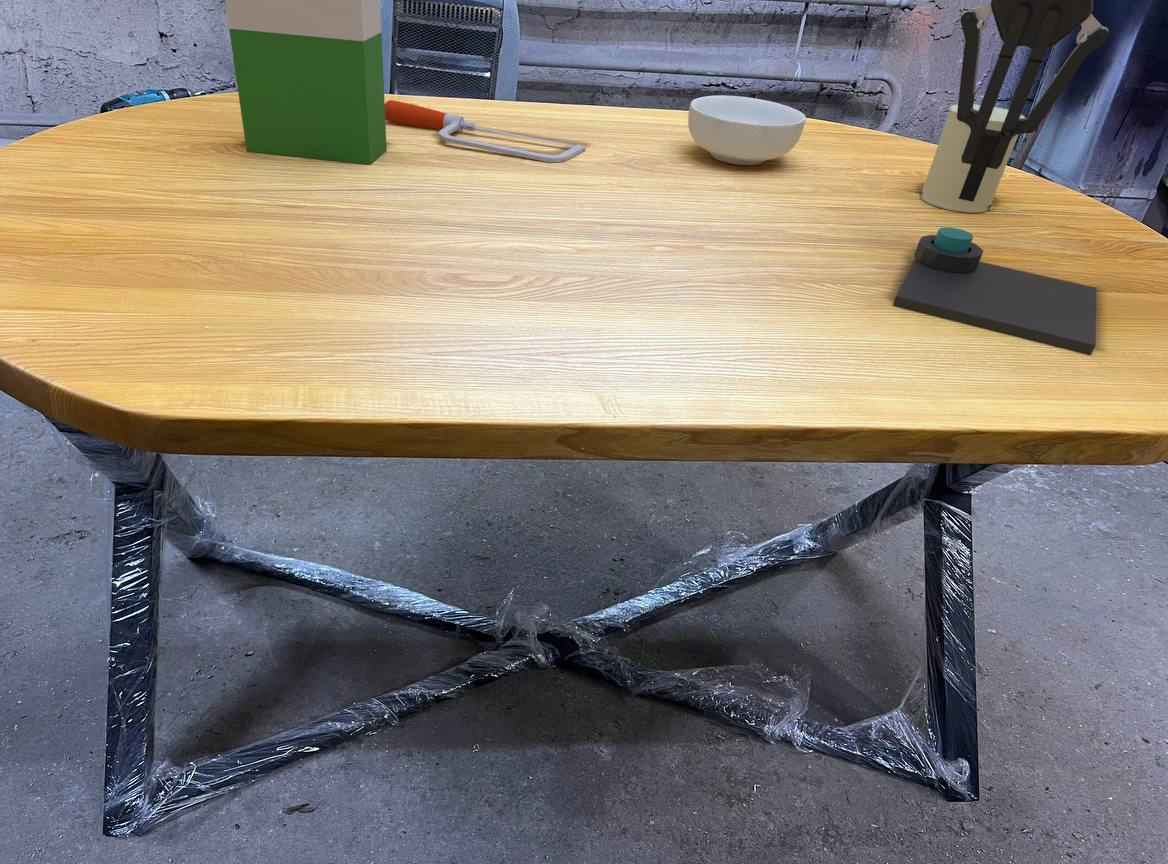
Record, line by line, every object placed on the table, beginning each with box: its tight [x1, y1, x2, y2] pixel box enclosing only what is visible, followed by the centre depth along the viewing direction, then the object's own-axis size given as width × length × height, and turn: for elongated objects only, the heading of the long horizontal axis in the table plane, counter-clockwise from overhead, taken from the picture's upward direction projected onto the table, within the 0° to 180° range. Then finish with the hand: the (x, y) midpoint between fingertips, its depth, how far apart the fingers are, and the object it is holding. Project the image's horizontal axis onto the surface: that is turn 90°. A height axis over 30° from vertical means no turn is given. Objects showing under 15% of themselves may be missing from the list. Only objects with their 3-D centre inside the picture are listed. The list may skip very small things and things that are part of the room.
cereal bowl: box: [687, 95, 807, 166], centre depth 122 cm, size 17×17×7 cm
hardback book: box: [224, 0, 388, 166], centre depth 108 cm, size 18×7×24 cm, turn 81°
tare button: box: [933, 226, 974, 253], centre depth 90 cm, size 4×4×2 cm
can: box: [919, 103, 1026, 214], centre depth 110 cm, size 9×9×12 cm
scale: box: [892, 234, 1097, 356], centre depth 85 cm, size 18×17×3 cm
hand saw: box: [385, 99, 587, 163], centre depth 123 cm, size 33×3×10 cm
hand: (967, 196), depth 87 cm, fingers closed
